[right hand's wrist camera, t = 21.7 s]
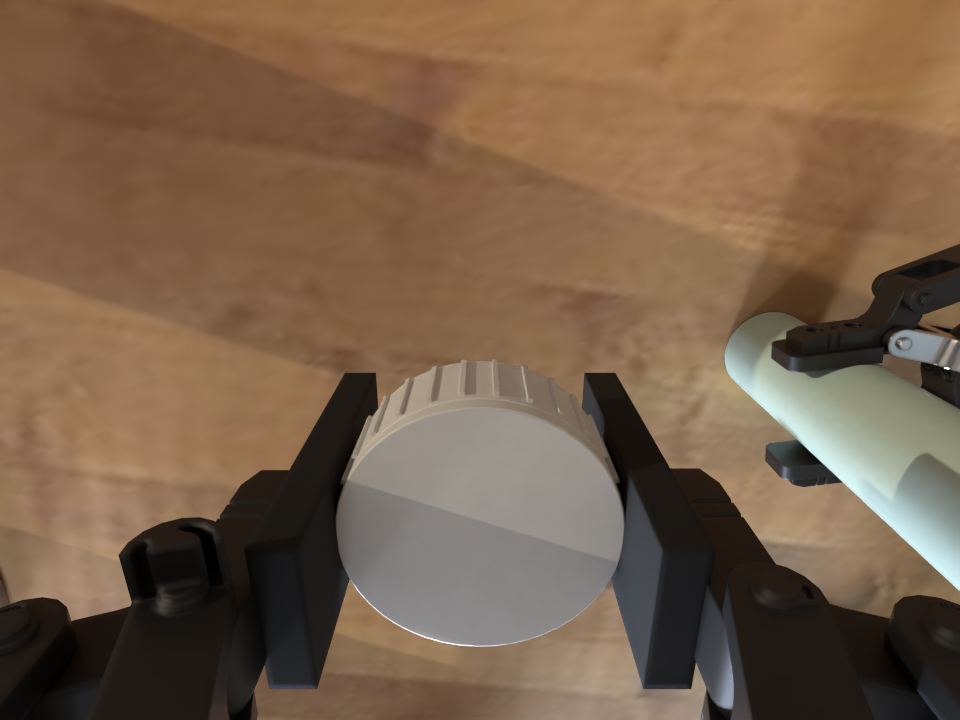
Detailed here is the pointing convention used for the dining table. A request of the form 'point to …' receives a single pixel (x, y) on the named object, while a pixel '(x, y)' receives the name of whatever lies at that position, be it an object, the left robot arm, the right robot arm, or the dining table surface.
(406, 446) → the lid
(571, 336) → the dining table surface
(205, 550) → the right robot arm
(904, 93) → the dining table surface
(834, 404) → the bottle
